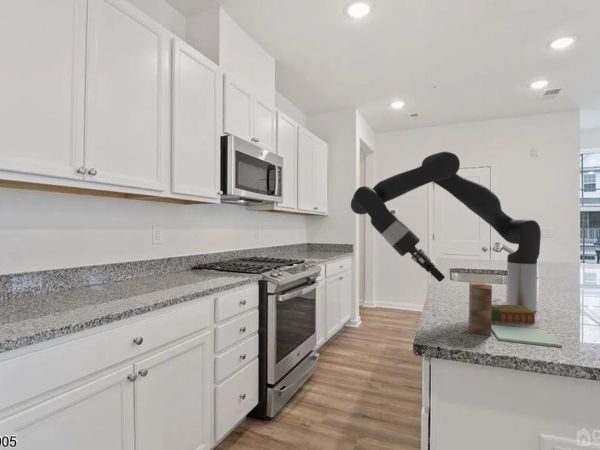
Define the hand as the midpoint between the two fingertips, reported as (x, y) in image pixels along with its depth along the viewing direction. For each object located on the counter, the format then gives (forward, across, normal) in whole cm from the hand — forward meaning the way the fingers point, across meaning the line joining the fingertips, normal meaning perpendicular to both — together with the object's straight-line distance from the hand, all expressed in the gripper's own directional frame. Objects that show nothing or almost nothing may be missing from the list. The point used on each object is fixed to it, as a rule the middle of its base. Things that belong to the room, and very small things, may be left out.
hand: (442, 279), depth 100 cm
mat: (+25, 0, -4) cm, 25 cm away
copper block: (+17, 0, +3) cm, 18 cm away
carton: (+24, +19, -3) cm, 31 cm away
